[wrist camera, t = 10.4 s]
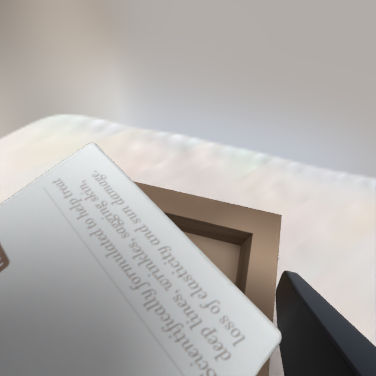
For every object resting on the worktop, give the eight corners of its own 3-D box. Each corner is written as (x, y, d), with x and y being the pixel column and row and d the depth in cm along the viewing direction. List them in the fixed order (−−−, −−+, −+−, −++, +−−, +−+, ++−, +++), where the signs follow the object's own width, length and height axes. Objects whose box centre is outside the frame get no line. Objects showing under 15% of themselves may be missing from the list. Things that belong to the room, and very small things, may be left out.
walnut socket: (237, 430, 13) (258, 491, 9) (52, 367, 14) (-3, 395, 10) (260, 234, 18) (281, 215, 14) (120, 200, 19) (101, 174, 15)
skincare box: (224, 307, 15) (319, 336, 4) (171, 367, 13) (86, 677, 2) (161, 238, 17) (102, 124, 6) (110, 284, 15) (-91, 252, 4)
